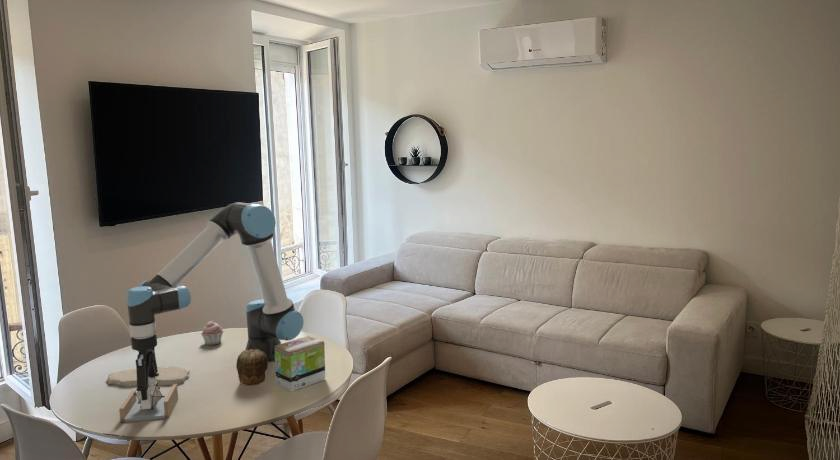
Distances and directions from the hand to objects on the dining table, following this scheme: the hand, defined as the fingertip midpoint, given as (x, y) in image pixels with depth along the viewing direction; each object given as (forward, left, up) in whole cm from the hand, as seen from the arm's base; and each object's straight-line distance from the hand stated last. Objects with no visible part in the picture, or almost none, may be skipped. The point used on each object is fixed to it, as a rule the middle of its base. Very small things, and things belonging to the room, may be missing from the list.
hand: (149, 402), depth 203 cm
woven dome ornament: (-31, -17, -3) cm, 35 cm away
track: (0, 0, -3) cm, 3 cm away
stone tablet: (+7, -30, -3) cm, 31 cm away
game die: (0, 0, -2) cm, 2 cm away
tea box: (-48, -13, -3) cm, 50 cm away
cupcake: (-10, -65, -3) cm, 66 cm away
